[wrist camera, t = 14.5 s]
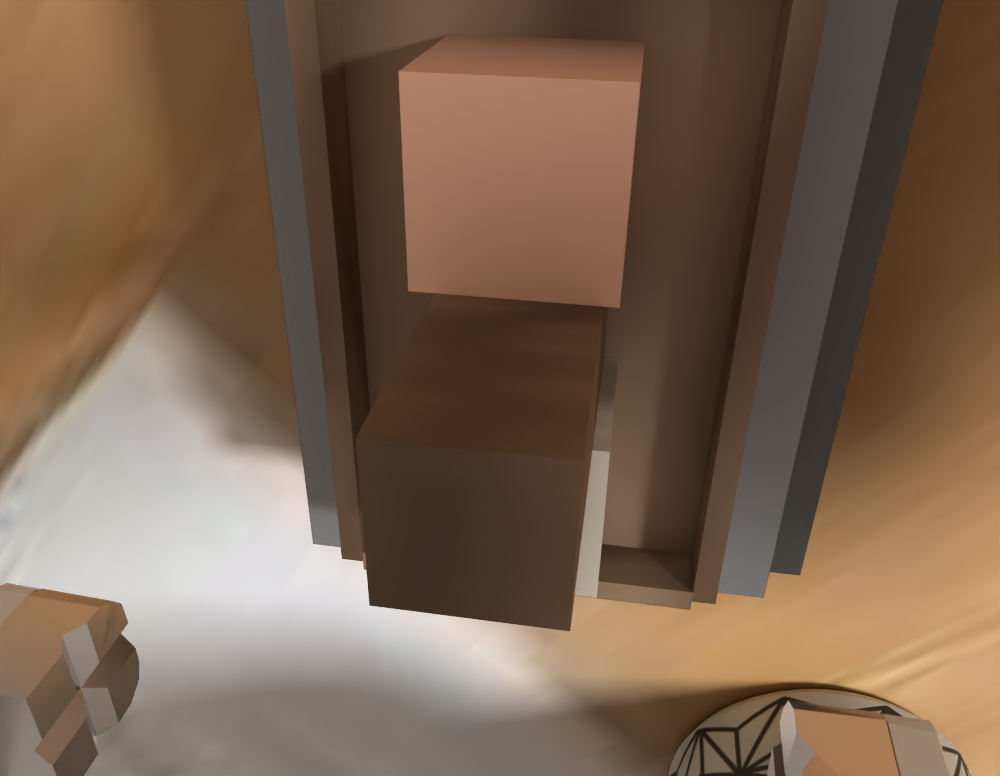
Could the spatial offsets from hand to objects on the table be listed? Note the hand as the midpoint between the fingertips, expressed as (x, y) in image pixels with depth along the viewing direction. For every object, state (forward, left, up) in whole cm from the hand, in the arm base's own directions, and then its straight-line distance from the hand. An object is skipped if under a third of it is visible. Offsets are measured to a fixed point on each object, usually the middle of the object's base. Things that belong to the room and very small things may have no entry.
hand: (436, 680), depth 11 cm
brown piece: (0, 0, -13) cm, 13 cm away
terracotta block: (0, -4, -12) cm, 12 cm away
